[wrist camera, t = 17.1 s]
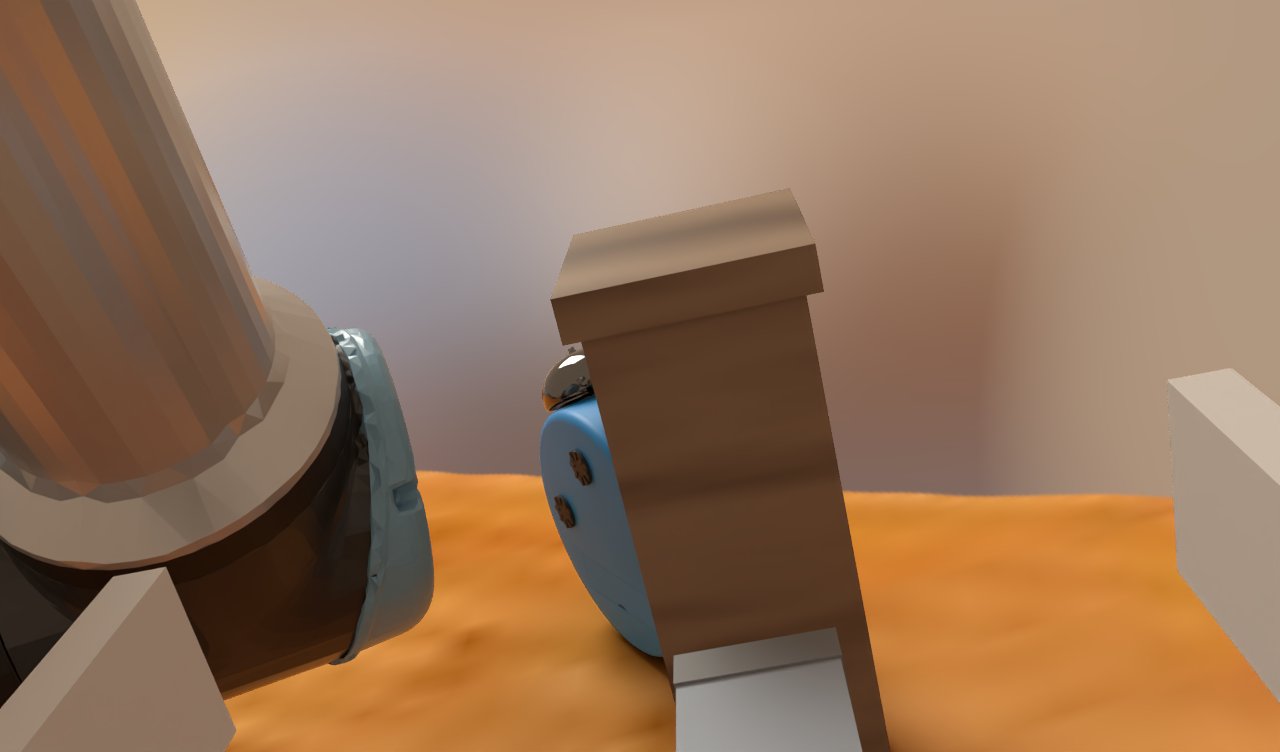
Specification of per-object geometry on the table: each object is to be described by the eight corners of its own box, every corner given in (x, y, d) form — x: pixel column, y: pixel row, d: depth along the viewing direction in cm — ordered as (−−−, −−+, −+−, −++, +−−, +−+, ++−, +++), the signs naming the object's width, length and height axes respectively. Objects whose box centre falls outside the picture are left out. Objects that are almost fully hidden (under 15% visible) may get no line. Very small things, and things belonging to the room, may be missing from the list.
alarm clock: (802, 649, 55) (743, 363, 50) (697, 710, 52) (623, 416, 47) (663, 559, 66) (602, 317, 61) (571, 606, 63) (499, 358, 58)
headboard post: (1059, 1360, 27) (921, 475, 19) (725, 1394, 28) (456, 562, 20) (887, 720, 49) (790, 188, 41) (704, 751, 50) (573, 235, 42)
